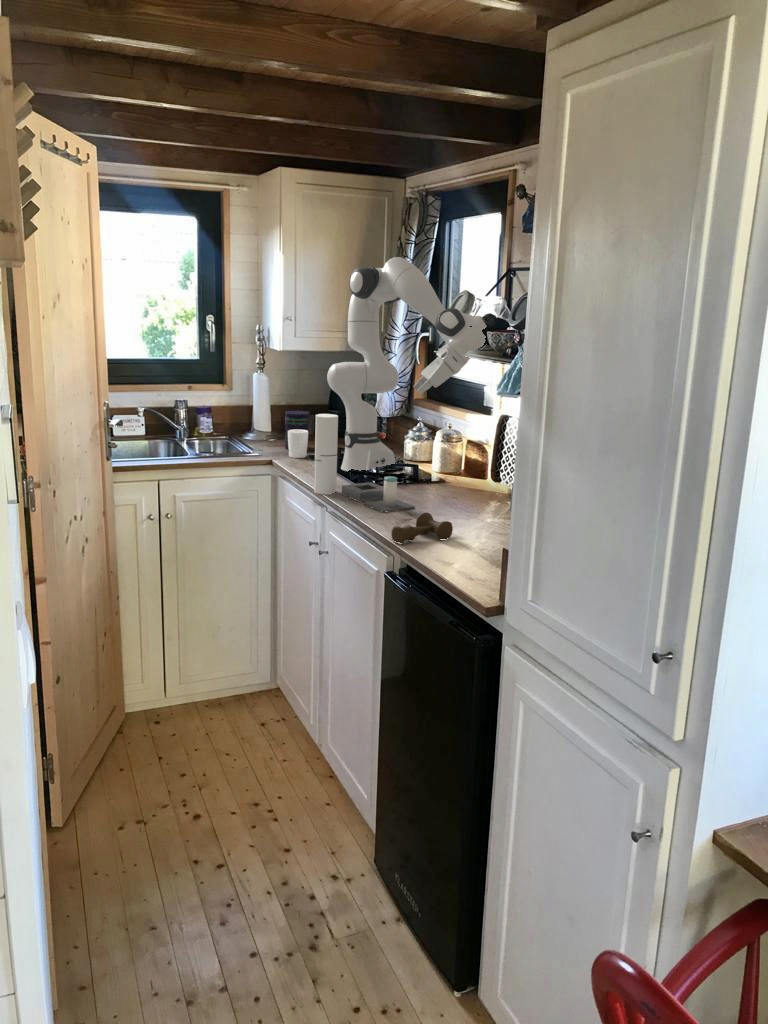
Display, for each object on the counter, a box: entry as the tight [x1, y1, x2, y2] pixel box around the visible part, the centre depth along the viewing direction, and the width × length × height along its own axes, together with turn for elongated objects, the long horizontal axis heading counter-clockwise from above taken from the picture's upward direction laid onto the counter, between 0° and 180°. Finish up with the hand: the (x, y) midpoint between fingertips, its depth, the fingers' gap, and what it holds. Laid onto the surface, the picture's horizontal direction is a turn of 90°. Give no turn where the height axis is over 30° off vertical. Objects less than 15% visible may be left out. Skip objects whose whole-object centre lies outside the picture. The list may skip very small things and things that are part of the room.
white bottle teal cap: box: [382, 475, 398, 506], centre depth 258 cm, size 4×4×8 cm
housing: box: [341, 481, 384, 502], centre depth 270 cm, size 11×11×3 cm
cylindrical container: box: [313, 413, 339, 495], centre depth 271 cm, size 7×7×25 cm
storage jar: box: [284, 409, 310, 451], centre depth 340 cm, size 10×10×15 cm
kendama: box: [391, 512, 454, 544], centre depth 227 cm, size 6×10×20 cm
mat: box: [364, 498, 416, 513], centre depth 259 cm, size 12×10×1 cm
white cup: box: [288, 429, 309, 459], centre depth 326 cm, size 8×8×10 cm
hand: (416, 390), depth 263 cm, fingers open, 8 cm apart
